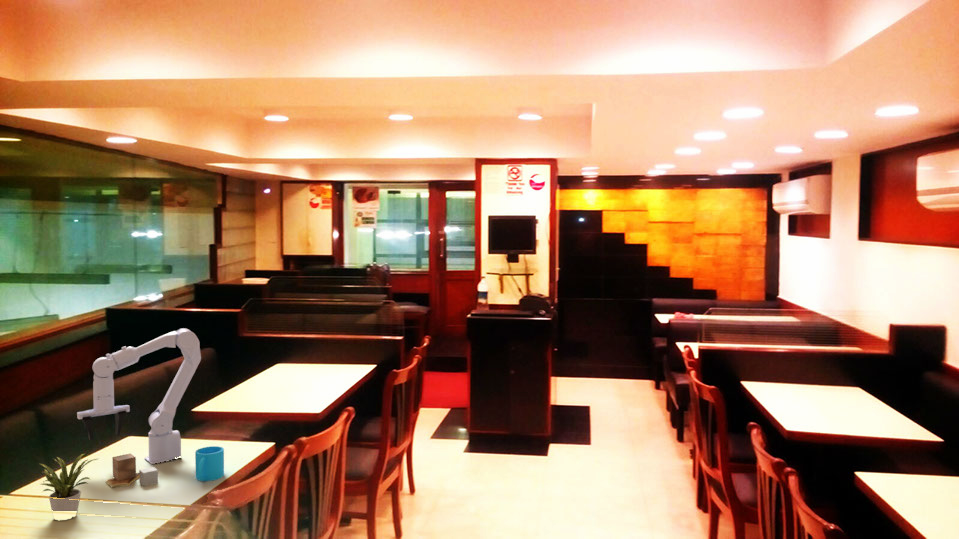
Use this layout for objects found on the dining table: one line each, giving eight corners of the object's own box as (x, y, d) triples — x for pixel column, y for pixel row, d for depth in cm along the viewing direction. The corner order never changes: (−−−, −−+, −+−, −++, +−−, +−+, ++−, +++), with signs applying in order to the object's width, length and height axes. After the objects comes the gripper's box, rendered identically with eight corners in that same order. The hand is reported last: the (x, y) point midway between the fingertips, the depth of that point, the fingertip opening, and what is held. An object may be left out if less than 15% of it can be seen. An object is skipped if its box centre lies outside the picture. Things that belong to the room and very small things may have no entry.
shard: (144, 475, 205) (144, 470, 205) (152, 482, 199) (152, 476, 199) (105, 484, 197) (105, 478, 197) (113, 491, 192) (113, 485, 192)
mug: (202, 471, 207) (201, 446, 207) (227, 471, 207) (227, 446, 207) (185, 485, 195) (185, 458, 195) (213, 485, 195) (212, 458, 195)
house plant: (103, 501, 182) (102, 443, 182) (101, 520, 170) (100, 458, 170) (42, 510, 176) (40, 450, 175) (35, 530, 163) (34, 466, 163)
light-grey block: (153, 479, 200) (153, 466, 200) (157, 483, 197) (157, 470, 197) (139, 482, 197) (139, 469, 197) (143, 486, 194) (143, 473, 194)
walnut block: (130, 472, 202) (130, 453, 202) (136, 476, 199) (135, 457, 199) (112, 476, 199) (112, 457, 199) (118, 480, 195) (117, 460, 195)
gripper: (80, 401, 201) (81, 444, 201) (132, 394, 211) (132, 435, 211) (75, 397, 206) (76, 439, 206) (126, 390, 216) (126, 431, 216)
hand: (104, 437), depth 209 cm, fingers open, 7 cm apart
